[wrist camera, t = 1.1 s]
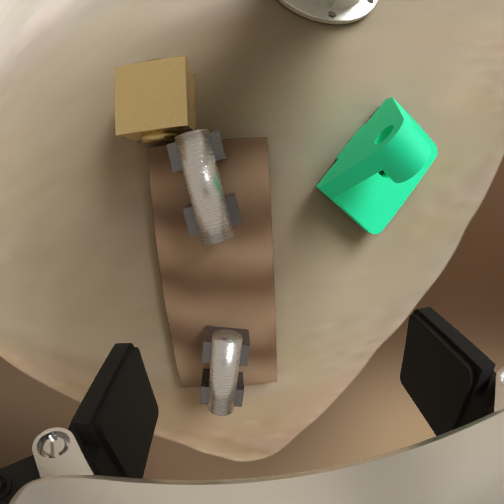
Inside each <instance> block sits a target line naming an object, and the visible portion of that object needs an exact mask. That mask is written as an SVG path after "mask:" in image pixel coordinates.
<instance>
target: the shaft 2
mask: <svg viewBox="0 0 504 504" xmlns="http://www.w3.org/2000/svg"><path fill="white" fill-rule="evenodd" d="M249 351H250V339H249V329H239V328H227V327H217V326H207V325H206V327H205V334H204V340H203V353H202V362H203V363H210V369H204V368H203V374H202V382H201V395H200V403H203V404H208V410H209V411H210V412H211V413H213V414H215V415H218V416H226V415H229V414H231V413H232V412H233V410H234V406H239V407H242V401H243V394H244V381H243V372H238V371H239V366H247V365H248V358H249Z"/></svg>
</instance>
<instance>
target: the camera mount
mask: <svg viewBox="0 0 504 504" xmlns="http://www.w3.org/2000/svg"><path fill="white" fill-rule="evenodd" d="M437 153H438V150H437V146H436V144H435V143H434V142H433V141H432V140H431V138H430V137H429V136H428V135H427V134H426V133H425V132H424V130H423V129H422V128H421V127H420V126H419V125H418V124H417V123H416V122H415V120H414V119H413V118H412V117H411V116H410V115H409V114H408V113H407V112H406V111H405V110H404V109H403V108H402V107H401V106H400V105H399V104H398V103H397V102H396V101H395V100H394V99H393V98H392V97H391V98H389V99H386V100H385V101H384V102H383V103H382V105H381V106H380V107H379V108H378V110H377V111H376V112H375V113H374V115H373V116H372V117H371V118H370V120H369V121H368V122H367V123H366V124H364V125H362V126H361V128H360V129H359V130H358V131H357V133H356V134H355V135H354V136H353V138H352V139H351V140H350V141H349V143H348V144H347V145H346V146H345V148H344V149H343V150H342V151H341V153H340V154H339V155H338V156H337V158H336V159H337V161H336V162H335V163H334V165H333V166H332V167H331V168H330V170H329V171H328V172H327V173H326V175H325V176H324V177H323V178H322V180H321V181H320V182H319V183H318V185H317V186H316V187H317V188H318V189H319V190H320V191H322V192H323V193H324V194H325V195H326V196H327V197H328V198H330V199H331V200H332V201H333V202H334V203H335V204H336V205H338V206H339V207H340V208H341V209H342V210H343V211H344V212H345V213H346V214H348V215H349V216H350V217H351V218H352V219H353V220H354V221H355V222H356V223H357V224H359V225H360V226H361V227H362V228H363V229H364V230H366V231H368V232H370V233H372V234H378V233H380V232H381V231H382V230H383V229H384V228H385V227H386V225H387V224H388V223H389V221H390V220H391V219H392V218H393V216H394V215H395V214H396V212H397V211H398V210H399V208H400V207H401V206H402V204H403V203H404V202H405V200H406V199H407V198H408V196H409V195H410V193H411V192H412V191H413V189H414V188H415V187H416V185H417V184H418V182H419V181H420V180H421V178H422V177H423V175H424V174H425V173H426V171H427V170H428V168H429V167H430V166H431V164H432V163H433V161H434V160H435V158H436V157H437ZM382 170H383V171H384V173H383V174H382V175H380V174H379V173H378V172H380V171H382Z"/></svg>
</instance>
